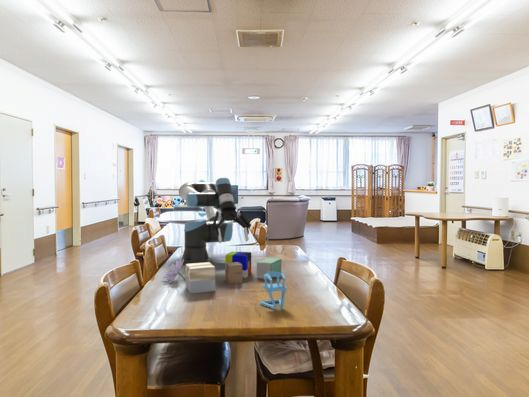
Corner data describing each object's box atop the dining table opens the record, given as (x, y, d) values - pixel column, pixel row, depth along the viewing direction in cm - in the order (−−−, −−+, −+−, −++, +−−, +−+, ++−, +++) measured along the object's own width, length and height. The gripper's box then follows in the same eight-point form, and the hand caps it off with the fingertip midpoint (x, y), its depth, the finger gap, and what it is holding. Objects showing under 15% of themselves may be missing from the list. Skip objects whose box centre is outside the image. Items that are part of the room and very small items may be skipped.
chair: (269, 311, 128) (269, 276, 127) (259, 304, 136) (260, 270, 135) (289, 308, 131) (290, 274, 130) (279, 301, 139) (279, 269, 138)
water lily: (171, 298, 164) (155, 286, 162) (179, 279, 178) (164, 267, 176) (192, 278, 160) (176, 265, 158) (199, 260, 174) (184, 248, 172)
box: (282, 273, 182) (281, 257, 182) (271, 279, 170) (270, 263, 170) (268, 271, 185) (268, 256, 185) (256, 278, 173) (256, 262, 173)
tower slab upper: (185, 275, 158) (185, 263, 157) (209, 273, 161) (209, 262, 161) (190, 281, 148) (190, 268, 148) (214, 279, 152) (214, 266, 152)
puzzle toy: (246, 277, 174) (246, 256, 173) (225, 276, 176) (225, 255, 175) (251, 272, 184) (251, 252, 183) (231, 271, 186) (231, 251, 185)
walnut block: (225, 280, 168) (225, 262, 168) (238, 279, 170) (238, 261, 170) (228, 284, 162) (228, 265, 162) (242, 282, 165) (242, 264, 164)
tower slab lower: (186, 287, 158) (186, 275, 158) (209, 285, 161) (209, 273, 161) (190, 294, 148) (190, 281, 148) (215, 291, 152) (215, 279, 152)
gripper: (204, 200, 187) (210, 238, 176) (251, 199, 196) (260, 235, 185) (201, 208, 193) (207, 245, 182) (248, 207, 202) (256, 243, 191)
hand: (234, 240), depth 184 cm, fingers open, 13 cm apart
